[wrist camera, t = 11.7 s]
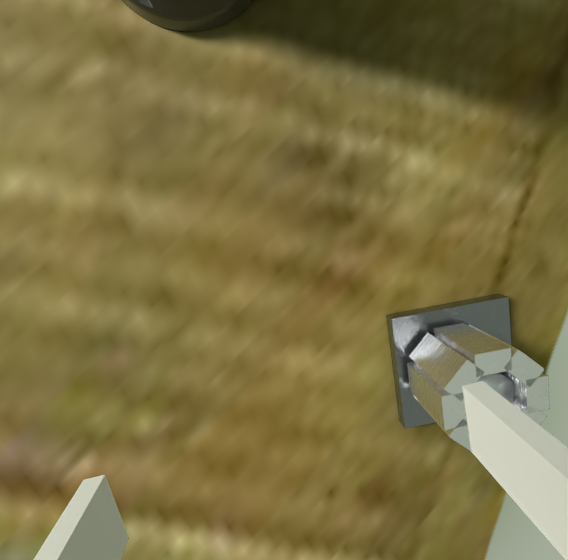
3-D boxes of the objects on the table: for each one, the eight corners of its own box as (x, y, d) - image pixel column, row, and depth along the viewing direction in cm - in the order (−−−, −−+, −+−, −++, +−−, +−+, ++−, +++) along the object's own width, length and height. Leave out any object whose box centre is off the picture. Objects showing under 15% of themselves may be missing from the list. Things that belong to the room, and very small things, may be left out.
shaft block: (386, 315, 39) (419, 340, 31) (498, 293, 39) (560, 313, 31) (399, 420, 41) (434, 470, 33) (506, 399, 41) (564, 443, 34)
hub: (403, 334, 37) (438, 361, 30) (492, 317, 37) (546, 340, 30) (413, 418, 38) (447, 462, 32) (498, 400, 39) (550, 441, 32)
